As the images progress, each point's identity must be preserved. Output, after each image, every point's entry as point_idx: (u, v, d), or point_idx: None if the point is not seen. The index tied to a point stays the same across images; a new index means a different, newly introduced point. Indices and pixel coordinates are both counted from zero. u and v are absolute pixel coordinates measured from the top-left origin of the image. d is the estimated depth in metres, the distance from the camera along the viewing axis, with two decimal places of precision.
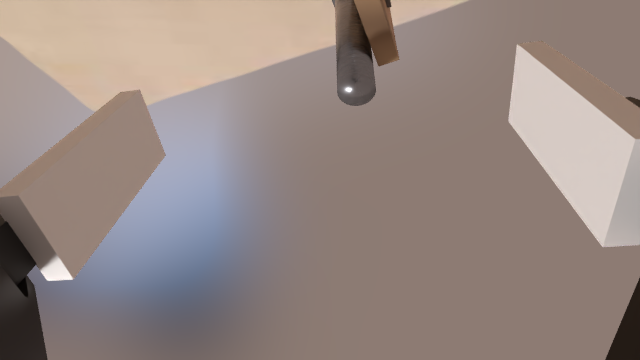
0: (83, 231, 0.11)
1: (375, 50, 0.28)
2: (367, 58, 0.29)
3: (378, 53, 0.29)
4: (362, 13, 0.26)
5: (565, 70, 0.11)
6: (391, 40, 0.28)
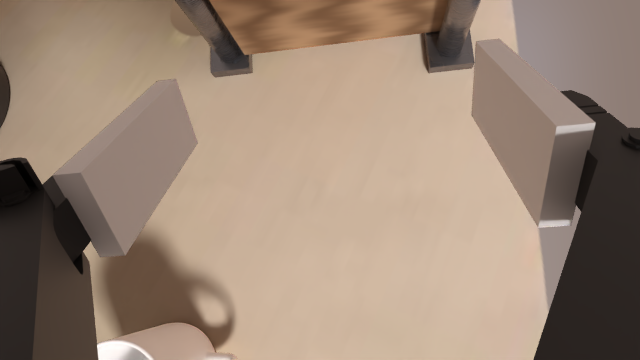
0: (132, 210, 0.12)
1: None
2: None
3: None
4: None
5: (512, 65, 0.12)
6: None
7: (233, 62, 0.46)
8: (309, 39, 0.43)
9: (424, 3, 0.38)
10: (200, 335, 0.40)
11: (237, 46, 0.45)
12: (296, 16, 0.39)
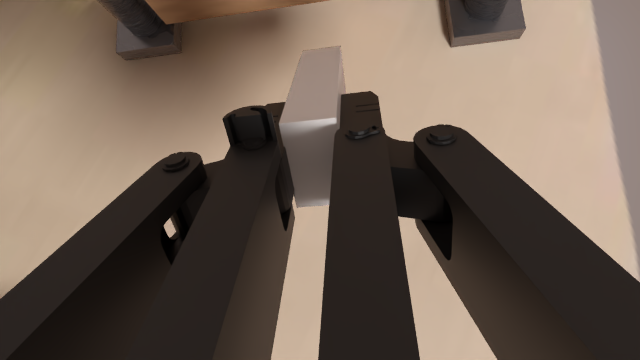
0: None
1: None
2: None
3: None
4: None
5: (326, 70, 0.14)
6: None
7: (150, 36, 0.30)
8: None
9: None
10: None
11: (153, 10, 0.29)
12: None
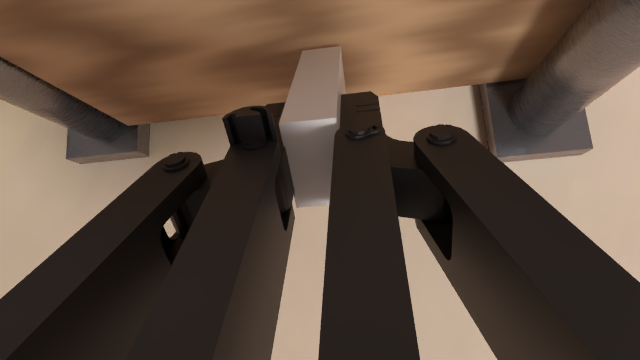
0: None
1: None
2: None
3: None
4: None
5: (326, 70, 0.14)
6: None
7: (108, 139, 0.24)
8: (247, 100, 0.21)
9: (500, 29, 0.16)
10: None
11: None
12: (201, 61, 0.17)
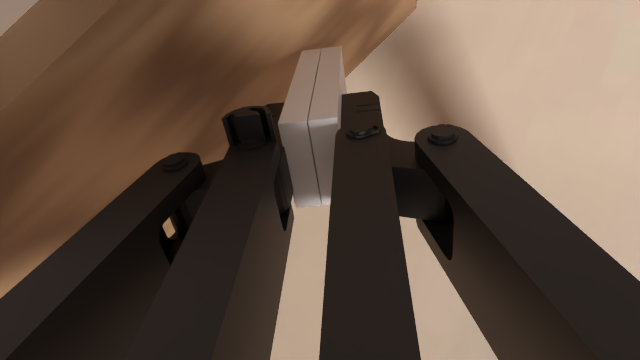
0: None
1: None
2: None
3: None
4: None
5: (327, 70, 0.14)
6: None
7: None
8: None
9: None
10: None
11: None
12: None
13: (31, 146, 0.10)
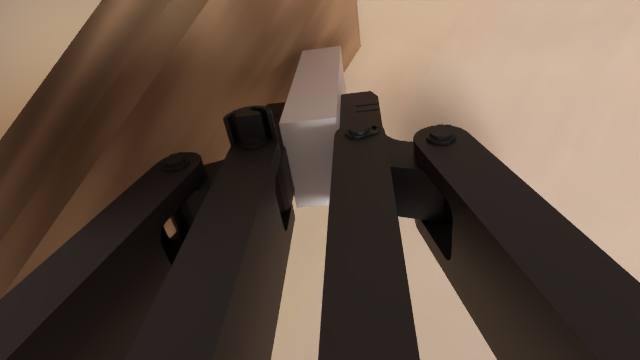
0: None
1: None
2: None
3: None
4: None
5: (326, 70, 0.14)
6: None
7: None
8: None
9: (314, 47, 0.17)
10: None
11: None
12: None
13: None
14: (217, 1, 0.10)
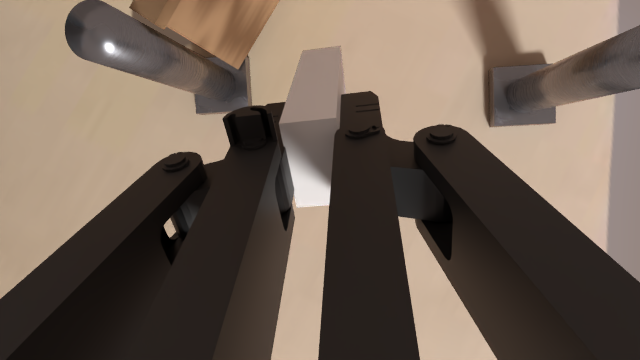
0: None
1: None
2: (630, 29, 0.18)
3: None
4: None
5: (326, 70, 0.14)
6: None
7: (226, 100, 0.34)
8: None
9: None
10: None
11: (231, 83, 0.32)
12: None
13: None
14: None
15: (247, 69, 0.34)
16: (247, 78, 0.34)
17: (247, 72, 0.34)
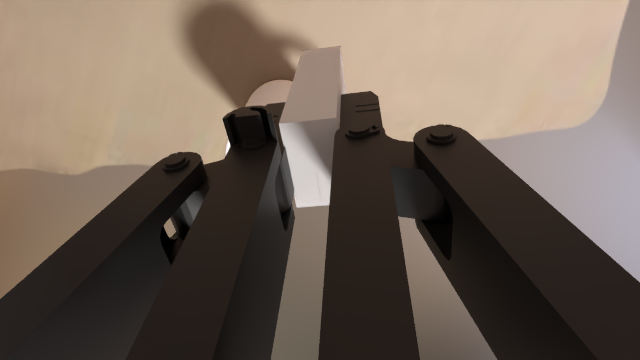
0: None
1: None
2: None
3: None
4: None
5: (326, 70, 0.14)
6: None
7: None
8: None
9: None
10: None
11: None
12: None
13: None
14: None
15: None
16: None
17: None
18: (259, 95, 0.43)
